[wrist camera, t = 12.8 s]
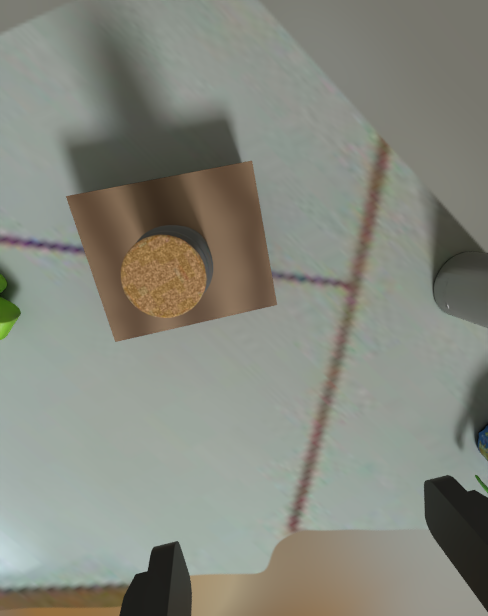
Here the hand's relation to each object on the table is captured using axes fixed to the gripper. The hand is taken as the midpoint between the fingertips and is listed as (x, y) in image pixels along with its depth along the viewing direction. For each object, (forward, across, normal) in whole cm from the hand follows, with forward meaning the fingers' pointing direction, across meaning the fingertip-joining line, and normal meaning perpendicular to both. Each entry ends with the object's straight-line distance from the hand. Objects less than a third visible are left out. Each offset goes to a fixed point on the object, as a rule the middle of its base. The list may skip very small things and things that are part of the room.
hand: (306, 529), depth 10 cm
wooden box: (+31, +5, -8) cm, 32 cm away
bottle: (+25, +4, -8) cm, 27 cm away
